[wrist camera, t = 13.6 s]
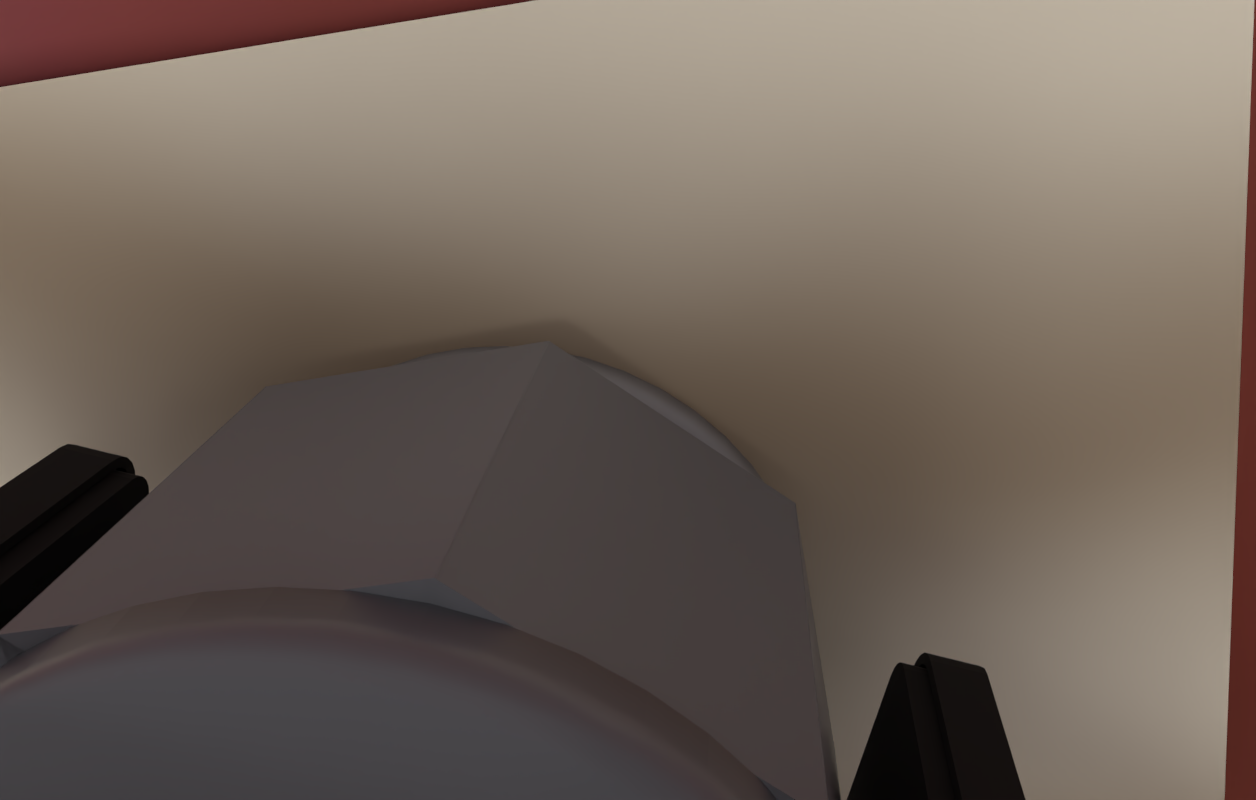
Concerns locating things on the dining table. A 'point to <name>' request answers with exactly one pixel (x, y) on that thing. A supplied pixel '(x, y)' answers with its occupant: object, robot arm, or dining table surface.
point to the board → (729, 298)
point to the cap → (431, 609)
